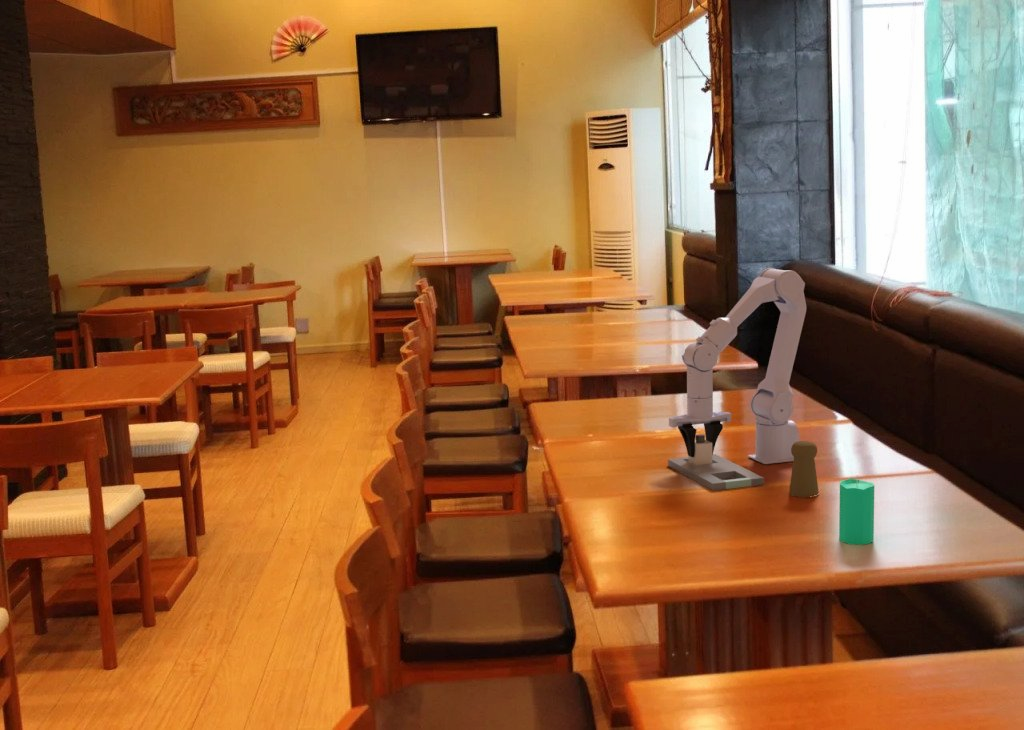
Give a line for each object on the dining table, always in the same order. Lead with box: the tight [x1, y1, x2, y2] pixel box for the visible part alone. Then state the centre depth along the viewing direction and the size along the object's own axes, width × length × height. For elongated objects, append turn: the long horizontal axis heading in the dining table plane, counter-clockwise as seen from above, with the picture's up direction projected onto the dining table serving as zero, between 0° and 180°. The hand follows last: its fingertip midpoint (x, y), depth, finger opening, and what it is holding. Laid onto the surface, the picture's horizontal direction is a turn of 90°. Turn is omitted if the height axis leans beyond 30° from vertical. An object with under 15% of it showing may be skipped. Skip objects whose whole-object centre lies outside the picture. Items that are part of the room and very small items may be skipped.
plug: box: [688, 434, 712, 465], centre depth 261 cm, size 4×4×8 cm
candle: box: [838, 474, 875, 546], centre depth 207 cm, size 6×6×12 cm
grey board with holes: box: [667, 453, 765, 491], centre depth 255 cm, size 12×23×2 cm, turn 16°
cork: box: [788, 440, 820, 498], centre depth 237 cm, size 6×6×11 cm
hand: (700, 455), depth 261 cm, fingers closed on plug, 4 cm apart
